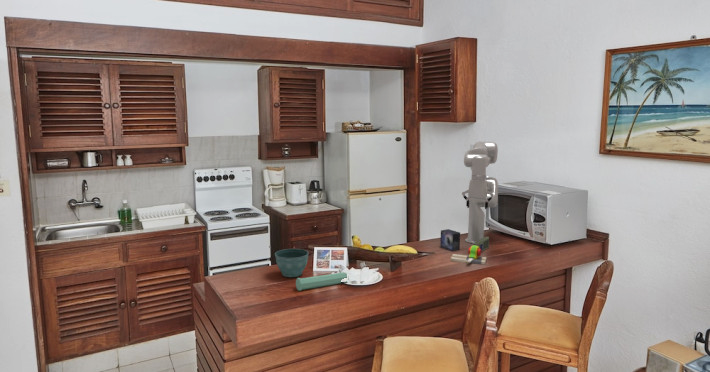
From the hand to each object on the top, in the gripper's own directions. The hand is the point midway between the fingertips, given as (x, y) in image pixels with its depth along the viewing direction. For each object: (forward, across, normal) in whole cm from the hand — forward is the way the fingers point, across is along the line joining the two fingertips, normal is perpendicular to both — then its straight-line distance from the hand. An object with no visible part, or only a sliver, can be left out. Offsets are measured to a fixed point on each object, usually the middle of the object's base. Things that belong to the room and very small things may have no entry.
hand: (476, 208), depth 280 cm
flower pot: (+26, +81, +70) cm, 110 cm away
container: (+27, +61, +79) cm, 103 cm away
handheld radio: (+27, -2, -6) cm, 27 cm away
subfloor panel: (+26, +2, +15) cm, 30 cm away
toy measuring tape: (+25, 0, +17) cm, 30 cm away
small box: (+27, +15, -6) cm, 31 cm away
